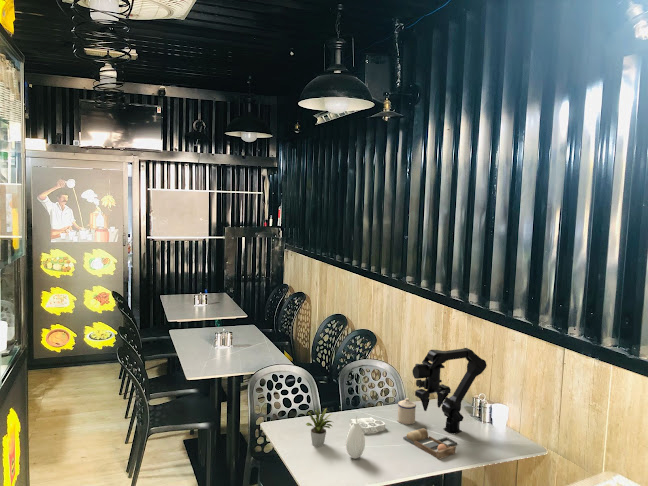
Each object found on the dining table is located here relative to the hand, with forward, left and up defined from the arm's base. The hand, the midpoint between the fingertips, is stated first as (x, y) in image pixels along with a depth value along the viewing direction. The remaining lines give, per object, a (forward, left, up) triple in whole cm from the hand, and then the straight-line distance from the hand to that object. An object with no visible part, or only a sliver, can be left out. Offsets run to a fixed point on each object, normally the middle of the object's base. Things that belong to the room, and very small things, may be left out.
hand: (432, 409), depth 245 cm
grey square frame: (+1, +11, -12) cm, 16 cm away
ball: (+11, +15, -10) cm, 21 cm away
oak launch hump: (+11, +2, -12) cm, 16 cm away
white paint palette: (+24, -20, -13) cm, 34 cm away
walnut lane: (+11, +12, -12) cm, 20 cm away
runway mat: (+11, +5, -12) cm, 17 cm away
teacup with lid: (0, -18, -12) cm, 22 cm away
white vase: (+47, +1, -12) cm, 49 cm away
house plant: (+55, -17, -12) cm, 59 cm away
